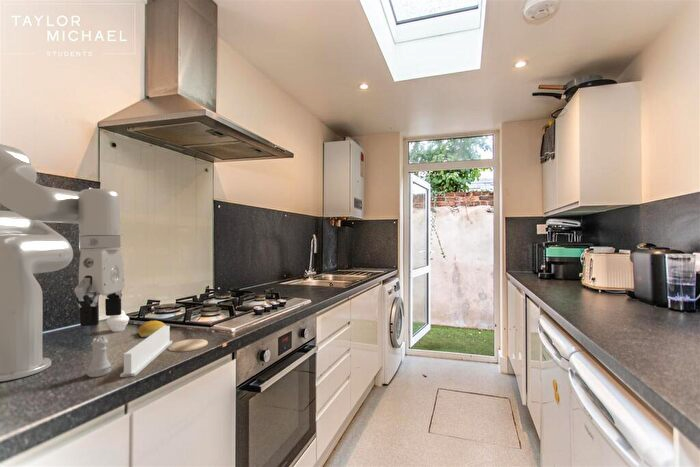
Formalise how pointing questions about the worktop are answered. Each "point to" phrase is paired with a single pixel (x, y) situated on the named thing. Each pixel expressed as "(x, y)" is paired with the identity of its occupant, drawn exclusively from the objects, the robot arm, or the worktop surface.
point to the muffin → (118, 322)
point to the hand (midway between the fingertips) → (102, 319)
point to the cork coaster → (188, 345)
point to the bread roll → (150, 328)
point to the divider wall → (146, 352)
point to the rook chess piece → (99, 358)
